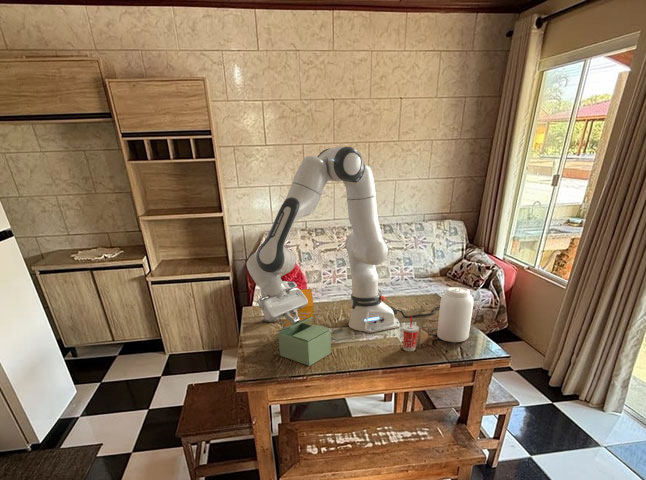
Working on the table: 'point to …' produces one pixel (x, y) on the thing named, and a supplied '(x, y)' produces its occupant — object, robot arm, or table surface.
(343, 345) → the table surface
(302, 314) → the orange juice
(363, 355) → the table surface
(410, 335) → the beverage cup
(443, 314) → the white upright cylinder
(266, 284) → the robot arm
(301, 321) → the flap
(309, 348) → the storage box
